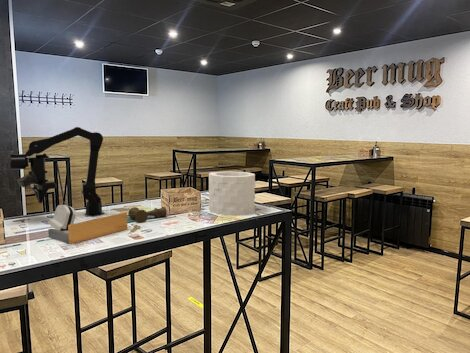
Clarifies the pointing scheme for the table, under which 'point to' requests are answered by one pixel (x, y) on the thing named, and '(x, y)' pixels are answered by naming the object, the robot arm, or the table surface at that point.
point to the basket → (231, 193)
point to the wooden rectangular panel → (91, 228)
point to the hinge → (62, 217)
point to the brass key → (135, 228)
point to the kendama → (145, 214)
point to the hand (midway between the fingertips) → (40, 202)
